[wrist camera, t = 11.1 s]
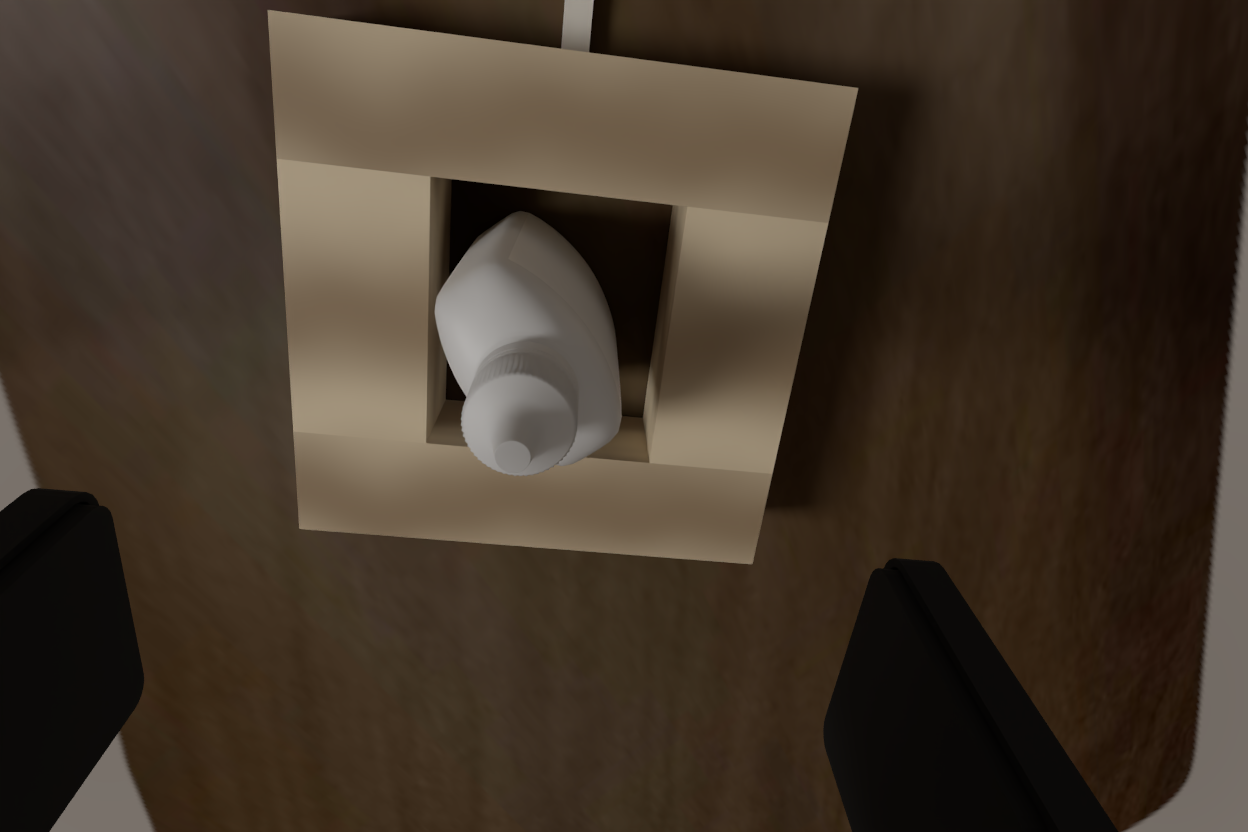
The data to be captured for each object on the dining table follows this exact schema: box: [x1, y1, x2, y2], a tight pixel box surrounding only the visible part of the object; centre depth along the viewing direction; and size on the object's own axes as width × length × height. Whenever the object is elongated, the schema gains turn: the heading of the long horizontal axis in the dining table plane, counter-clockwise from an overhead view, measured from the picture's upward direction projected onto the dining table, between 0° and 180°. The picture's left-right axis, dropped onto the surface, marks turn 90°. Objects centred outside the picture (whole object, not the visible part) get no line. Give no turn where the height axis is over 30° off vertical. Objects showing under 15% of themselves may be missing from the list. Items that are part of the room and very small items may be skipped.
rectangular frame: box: [268, 10, 858, 564], centre depth 24 cm, size 15×15×4 cm
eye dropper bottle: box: [435, 211, 622, 476], centre depth 20 cm, size 4×6×12 cm
